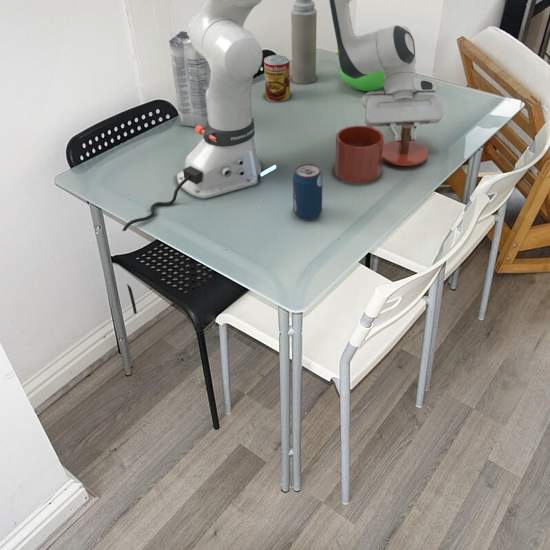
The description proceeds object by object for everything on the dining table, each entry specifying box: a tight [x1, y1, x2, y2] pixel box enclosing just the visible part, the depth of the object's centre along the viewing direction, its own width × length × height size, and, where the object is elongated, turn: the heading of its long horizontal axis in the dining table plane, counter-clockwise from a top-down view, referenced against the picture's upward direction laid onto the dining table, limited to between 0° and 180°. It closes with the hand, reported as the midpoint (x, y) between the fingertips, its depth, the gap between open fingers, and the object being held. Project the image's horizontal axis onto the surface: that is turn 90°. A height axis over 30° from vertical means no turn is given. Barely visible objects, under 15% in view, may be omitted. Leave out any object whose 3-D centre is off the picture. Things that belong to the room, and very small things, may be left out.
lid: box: [382, 124, 429, 167], centre depth 163 cm, size 13×13×9 cm
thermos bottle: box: [290, 0, 318, 85], centre depth 201 cm, size 8×8×28 cm
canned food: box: [263, 54, 291, 103], centre depth 196 cm, size 8×8×12 cm
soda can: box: [292, 163, 324, 221], centre depth 145 cm, size 7×7×12 cm
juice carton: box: [168, 29, 211, 128], centre depth 179 cm, size 9×10×27 cm
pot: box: [334, 125, 385, 184], centre depth 159 cm, size 12×12×10 cm
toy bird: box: [334, 49, 384, 92], centre depth 198 cm, size 18×17×15 cm
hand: (405, 140), depth 163 cm, fingers closed on lid, 2 cm apart
